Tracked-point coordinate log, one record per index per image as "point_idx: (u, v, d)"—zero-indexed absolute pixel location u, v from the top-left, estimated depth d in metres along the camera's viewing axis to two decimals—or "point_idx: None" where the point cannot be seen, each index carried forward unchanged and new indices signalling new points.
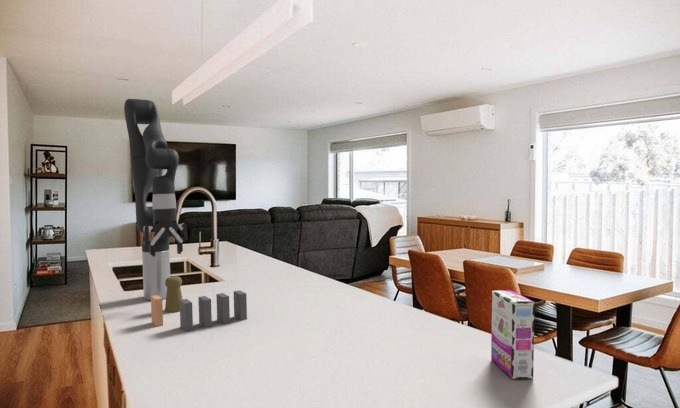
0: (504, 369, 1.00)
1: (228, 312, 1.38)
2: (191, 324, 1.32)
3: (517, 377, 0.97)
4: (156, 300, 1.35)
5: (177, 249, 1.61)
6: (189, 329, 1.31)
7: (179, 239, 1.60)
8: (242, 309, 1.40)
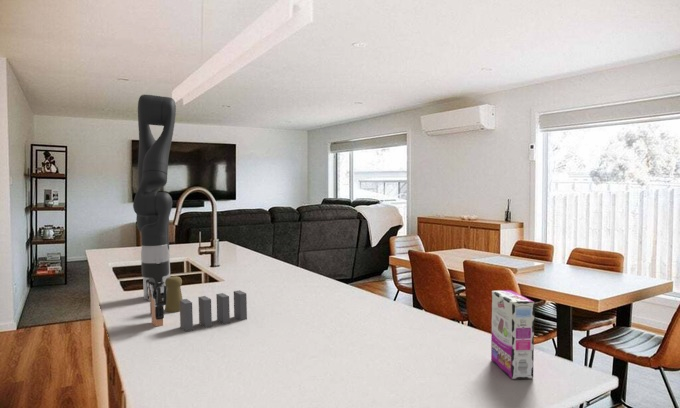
0: (504, 369, 1.00)
1: (228, 312, 1.38)
2: (191, 324, 1.32)
3: (517, 377, 0.97)
4: None
5: None
6: (189, 329, 1.31)
7: None
8: (242, 309, 1.40)
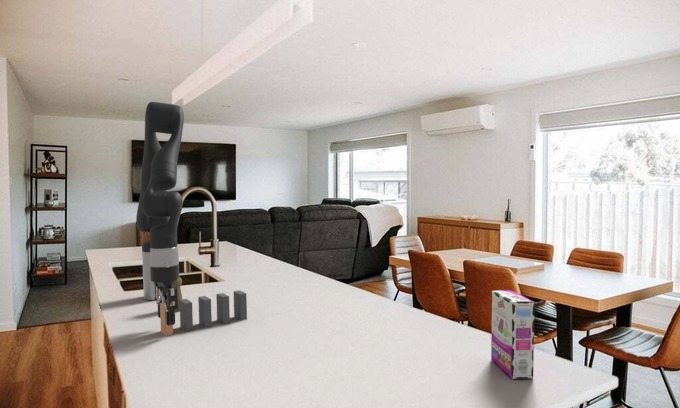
0: (504, 369, 1.00)
1: (228, 312, 1.38)
2: (191, 324, 1.32)
3: (517, 377, 0.97)
4: None
5: (159, 313, 1.33)
6: (189, 329, 1.31)
7: None
8: (242, 309, 1.40)
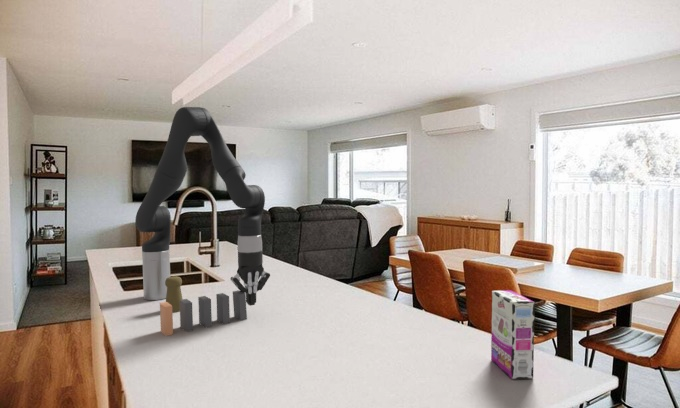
0: (504, 369, 1.00)
1: (228, 312, 1.38)
2: (191, 324, 1.32)
3: (517, 377, 0.97)
4: (166, 307, 1.27)
5: None
6: (189, 329, 1.31)
7: None
8: (241, 309, 1.40)
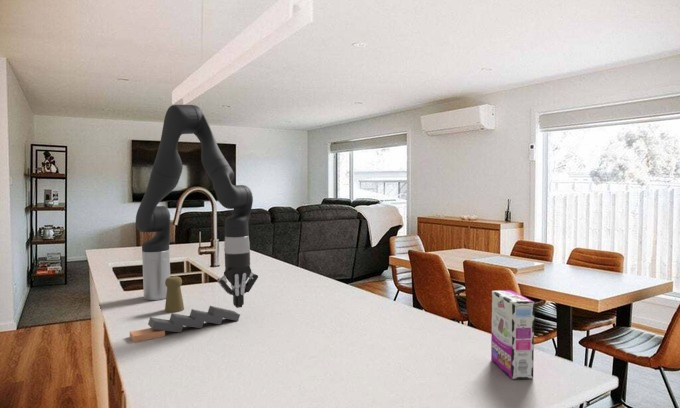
0: (504, 369, 1.00)
1: (212, 317, 1.35)
2: (176, 326, 1.29)
3: (517, 377, 0.97)
4: None
5: None
6: (180, 328, 1.30)
7: None
8: (228, 317, 1.38)
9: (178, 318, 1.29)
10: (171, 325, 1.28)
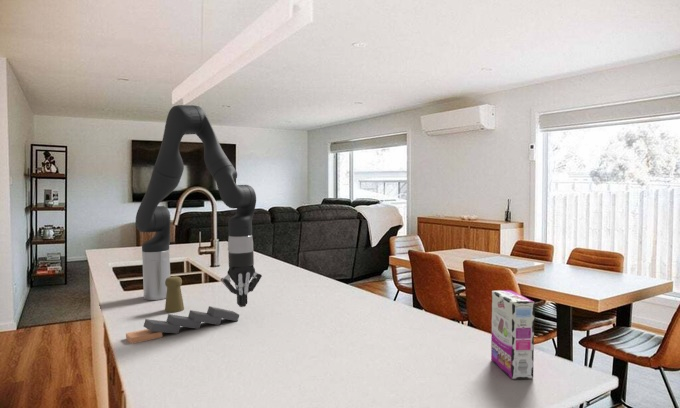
0: (504, 369, 1.00)
1: (211, 317, 1.35)
2: (174, 327, 1.28)
3: (517, 377, 0.97)
4: None
5: None
6: (178, 329, 1.29)
7: None
8: (227, 317, 1.38)
9: (176, 319, 1.29)
10: (169, 326, 1.27)
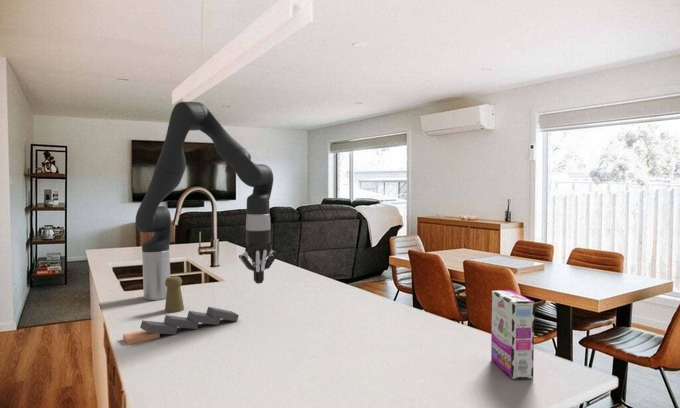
0: (504, 369, 1.00)
1: (210, 318, 1.35)
2: (171, 328, 1.27)
3: (517, 377, 0.97)
4: None
5: None
6: (175, 330, 1.28)
7: None
8: (227, 317, 1.37)
9: (173, 320, 1.28)
10: (166, 327, 1.26)
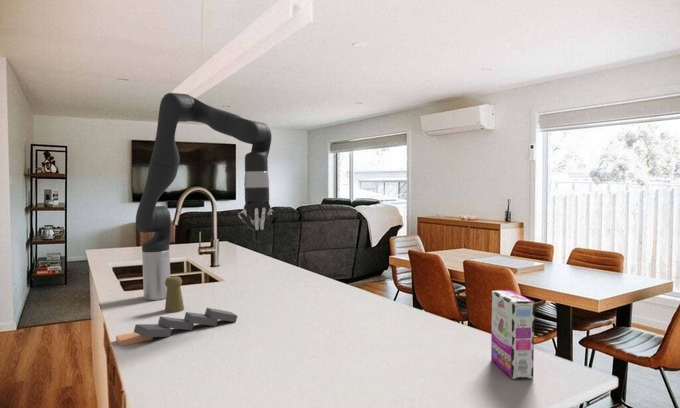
0: (504, 369, 1.00)
1: (207, 319, 1.34)
2: (166, 330, 1.25)
3: (517, 377, 0.97)
4: None
5: None
6: (169, 332, 1.27)
7: None
8: (225, 318, 1.37)
9: (169, 321, 1.27)
10: (162, 330, 1.24)
